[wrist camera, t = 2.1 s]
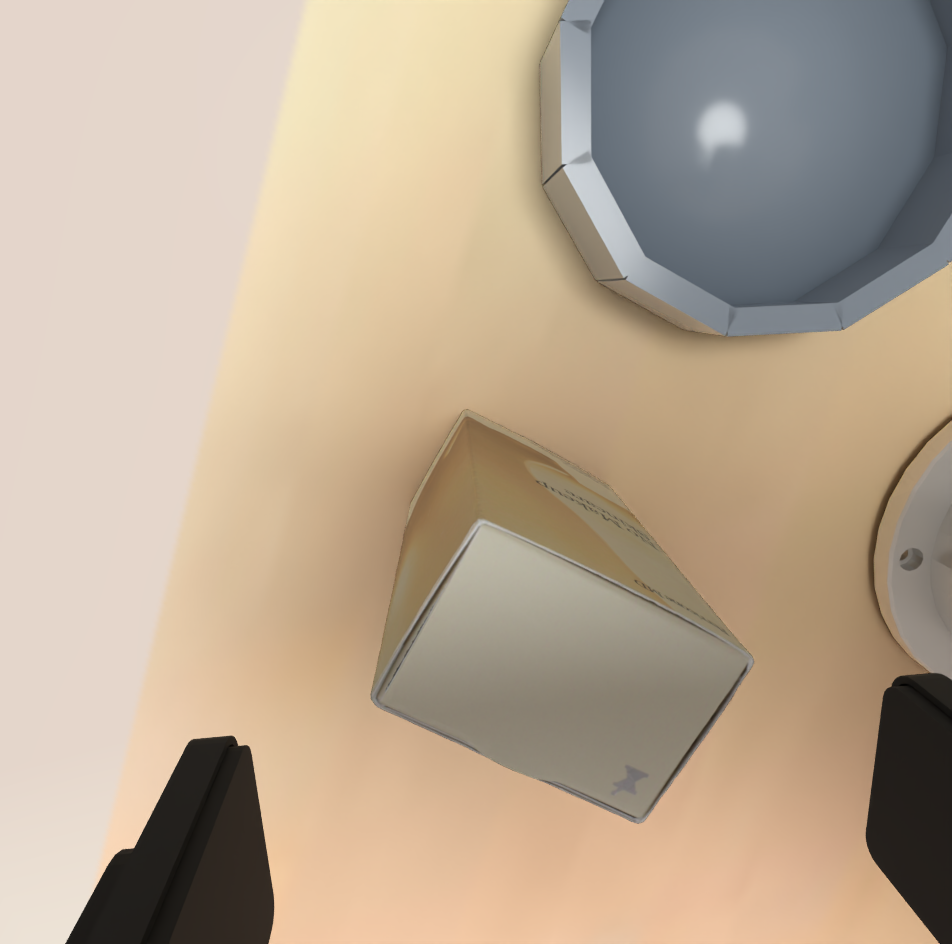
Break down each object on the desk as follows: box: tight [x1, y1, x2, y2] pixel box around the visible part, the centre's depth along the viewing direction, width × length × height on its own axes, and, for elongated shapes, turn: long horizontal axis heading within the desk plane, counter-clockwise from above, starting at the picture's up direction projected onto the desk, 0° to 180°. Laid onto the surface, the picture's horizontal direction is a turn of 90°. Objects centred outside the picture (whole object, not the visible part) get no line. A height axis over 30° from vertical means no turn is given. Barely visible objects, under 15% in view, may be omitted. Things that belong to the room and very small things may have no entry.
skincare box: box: [371, 410, 754, 824], centre depth 18 cm, size 6×4×12 cm
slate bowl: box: [540, 0, 952, 336], centre depth 20 cm, size 13×13×4 cm
